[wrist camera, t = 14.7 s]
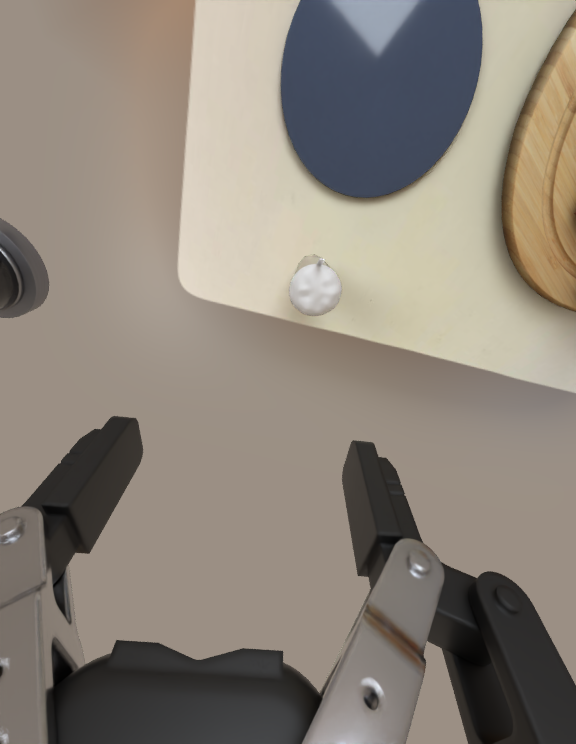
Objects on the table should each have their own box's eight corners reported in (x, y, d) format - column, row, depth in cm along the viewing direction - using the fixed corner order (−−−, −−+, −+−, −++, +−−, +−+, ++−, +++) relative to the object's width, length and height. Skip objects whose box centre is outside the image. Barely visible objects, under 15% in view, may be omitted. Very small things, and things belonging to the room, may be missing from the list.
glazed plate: (273, 186, 29) (272, 186, 28) (293, -87, 21) (293, -93, 20) (434, 207, 29) (436, 208, 29) (518, -50, 21) (524, -56, 21)
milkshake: (337, 242, 31) (351, 262, 23) (328, 292, 34) (338, 326, 26) (294, 236, 31) (292, 255, 23) (289, 287, 34) (285, 321, 26)
